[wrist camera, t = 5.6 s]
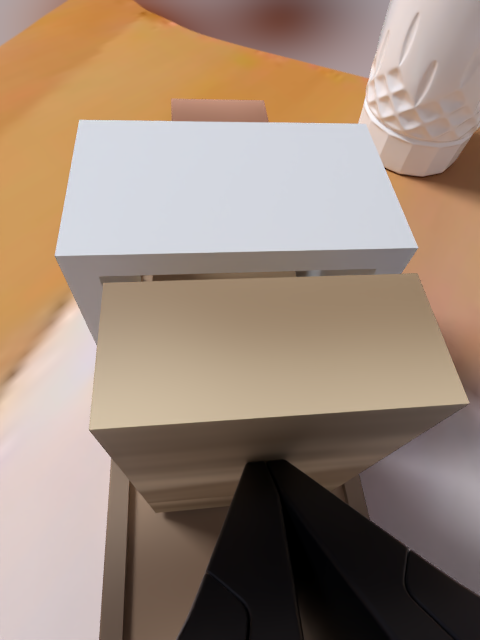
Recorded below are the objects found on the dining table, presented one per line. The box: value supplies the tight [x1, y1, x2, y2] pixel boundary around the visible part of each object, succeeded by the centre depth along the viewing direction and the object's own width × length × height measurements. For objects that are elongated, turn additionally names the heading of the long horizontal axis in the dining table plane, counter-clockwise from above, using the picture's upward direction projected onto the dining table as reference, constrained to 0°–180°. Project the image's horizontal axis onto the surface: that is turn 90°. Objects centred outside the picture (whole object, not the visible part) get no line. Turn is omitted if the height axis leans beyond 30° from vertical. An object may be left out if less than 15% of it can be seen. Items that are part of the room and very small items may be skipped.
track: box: [99, 271, 370, 640], centre depth 16 cm, size 24×9×1 cm, turn 5°
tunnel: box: [55, 120, 418, 345], centre depth 14 cm, size 5×9×8 cm, turn 95°
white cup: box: [358, 0, 480, 177], centre depth 23 cm, size 8×8×10 cm
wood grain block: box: [89, 99, 470, 513], centre depth 14 cm, size 14×6×9 cm, turn 5°
